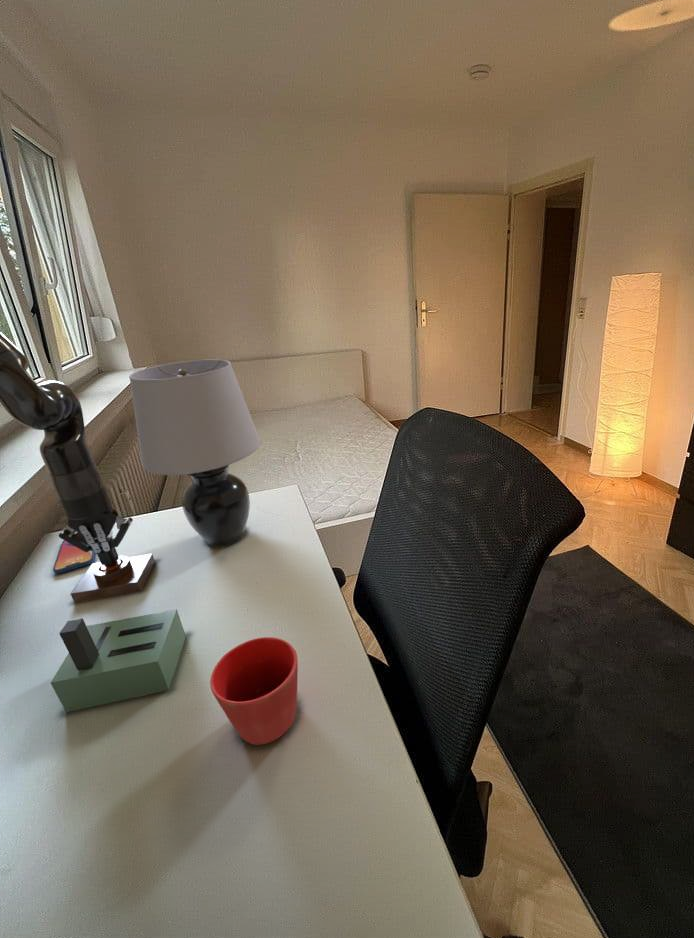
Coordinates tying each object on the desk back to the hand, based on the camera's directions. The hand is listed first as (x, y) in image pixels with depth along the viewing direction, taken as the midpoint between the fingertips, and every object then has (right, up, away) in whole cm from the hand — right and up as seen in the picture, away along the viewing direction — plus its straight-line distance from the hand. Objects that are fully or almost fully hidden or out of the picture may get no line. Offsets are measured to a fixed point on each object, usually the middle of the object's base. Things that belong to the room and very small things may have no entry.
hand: (111, 564), depth 90 cm
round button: (0, -2, +1) cm, 2 cm away
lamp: (+17, +3, +15) cm, 23 cm away
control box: (0, -4, +2) cm, 4 cm away
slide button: (+14, -8, -26) cm, 30 cm away
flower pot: (+41, -15, -29) cm, 52 cm away
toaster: (+16, -12, -20) cm, 29 cm away
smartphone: (-15, 0, +12) cm, 20 cm away
